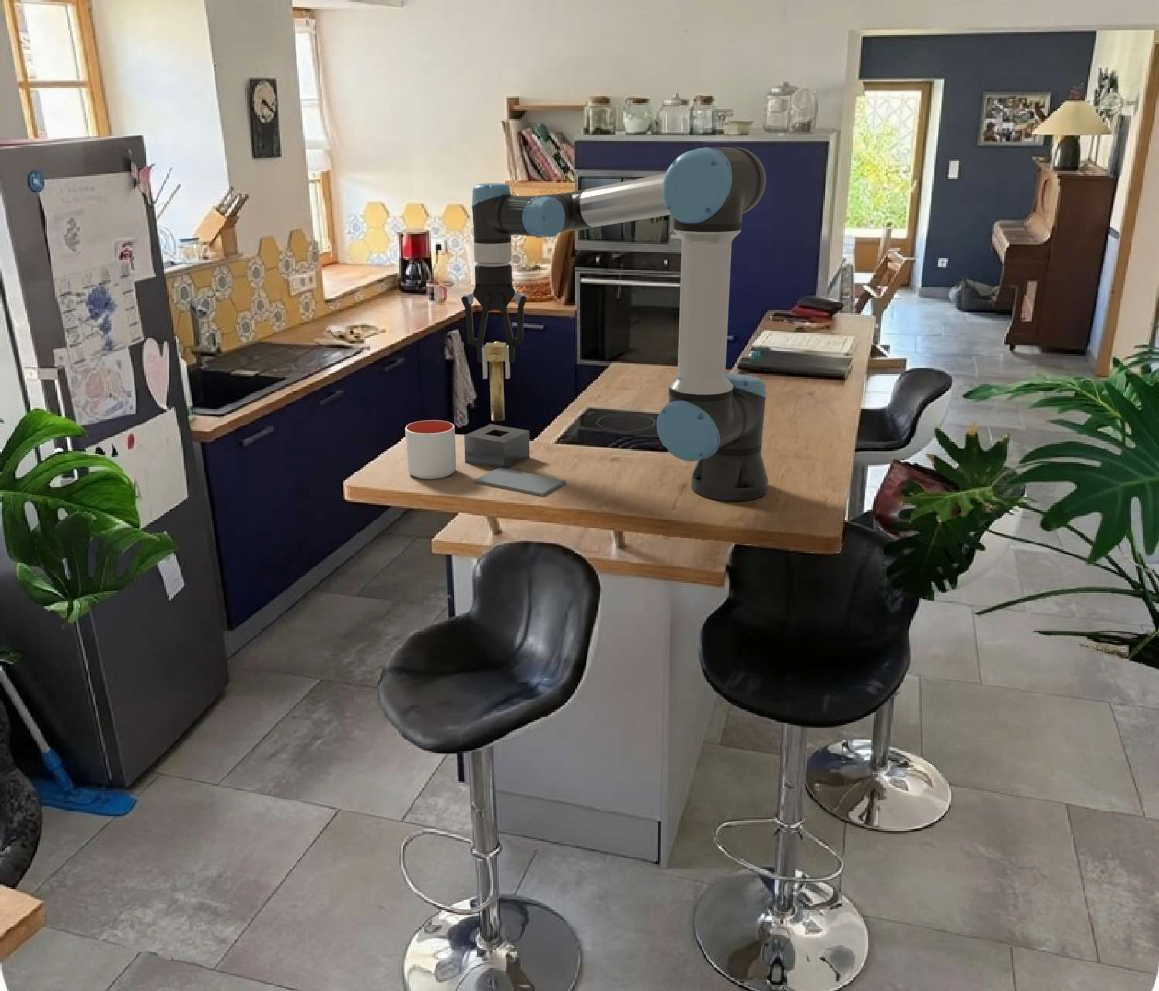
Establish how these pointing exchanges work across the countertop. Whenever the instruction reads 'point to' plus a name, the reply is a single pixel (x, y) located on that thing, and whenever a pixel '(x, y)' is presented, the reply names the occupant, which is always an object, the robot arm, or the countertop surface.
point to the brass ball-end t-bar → (496, 378)
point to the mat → (520, 481)
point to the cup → (430, 449)
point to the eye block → (496, 446)
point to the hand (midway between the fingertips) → (496, 377)
